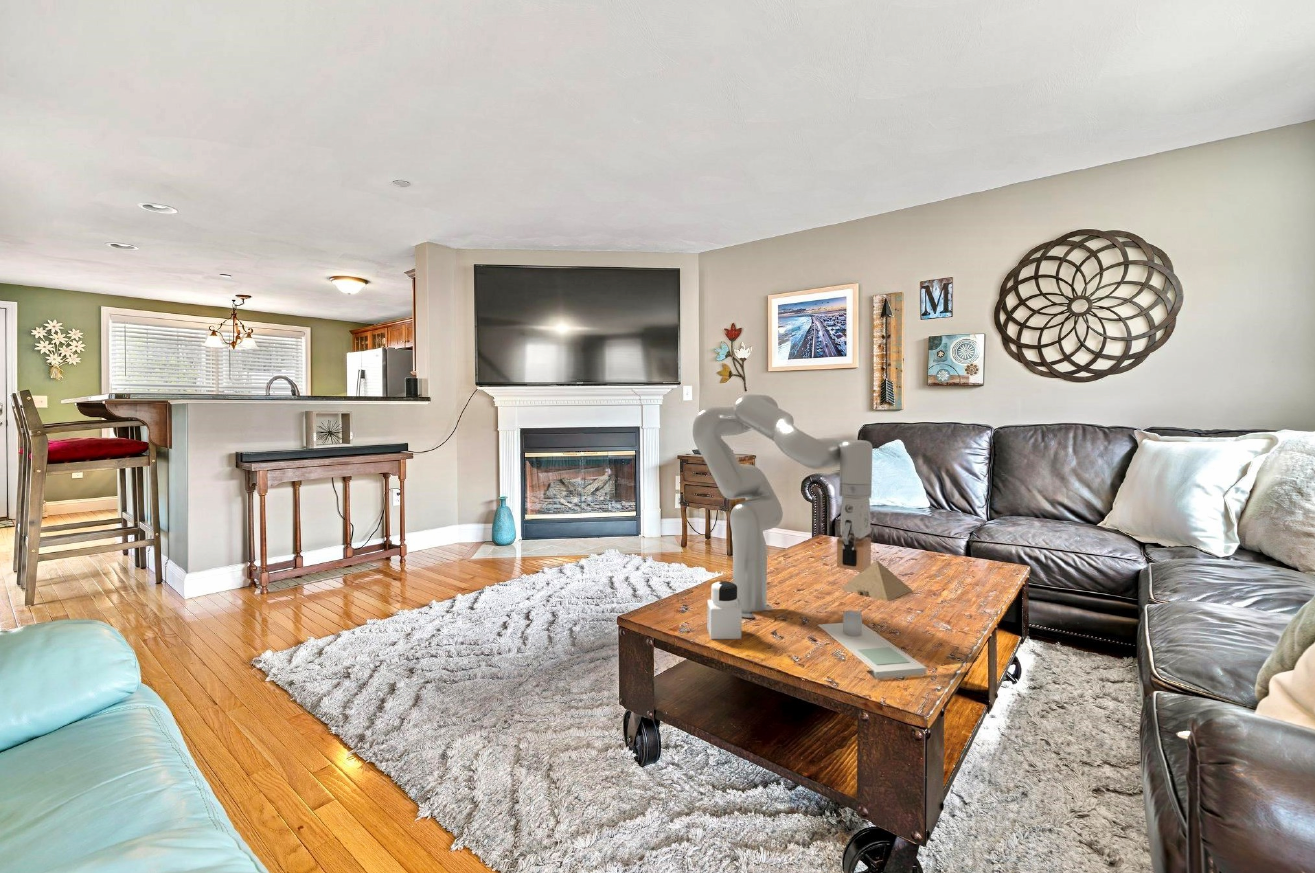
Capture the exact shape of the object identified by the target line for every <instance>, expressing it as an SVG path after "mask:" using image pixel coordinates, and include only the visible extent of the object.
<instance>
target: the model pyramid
mask: <svg viewBox="0 0 1315 873" xmlns="http://www.w3.org/2000/svg"><path fill="white" fill-rule="evenodd" d="M839 590H841V591H846V592H850V593H853V594H857V596H858V595H859V596H860V595H862V596H863V597H869V598H873V599H877V600H881V601H885V602H890V601H892V600H894V599H897V598H899V597H902V596H904V595H906V594H908V593H910V592H912V591H913V589H912V588H910V587H909V585H907V584H906V583H905V582H903V580H901V579H900V578H899V577H897V575H896V574H894V573H893V572H892V571H891V570H889V569H888V568H887V567H886V566H885V565H884V564H882V562H880V561H879V560H877V559H876V560H874V562H871V566H870V567H868V568H867V569H866V570H864V571H860V572H859V573H858V574H857V575H855V576H854V577H853V578H851V579H850V580H849V581H848V582H847V583H845V584H844V585H843V586H842V587H840V588H839Z"/></svg>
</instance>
